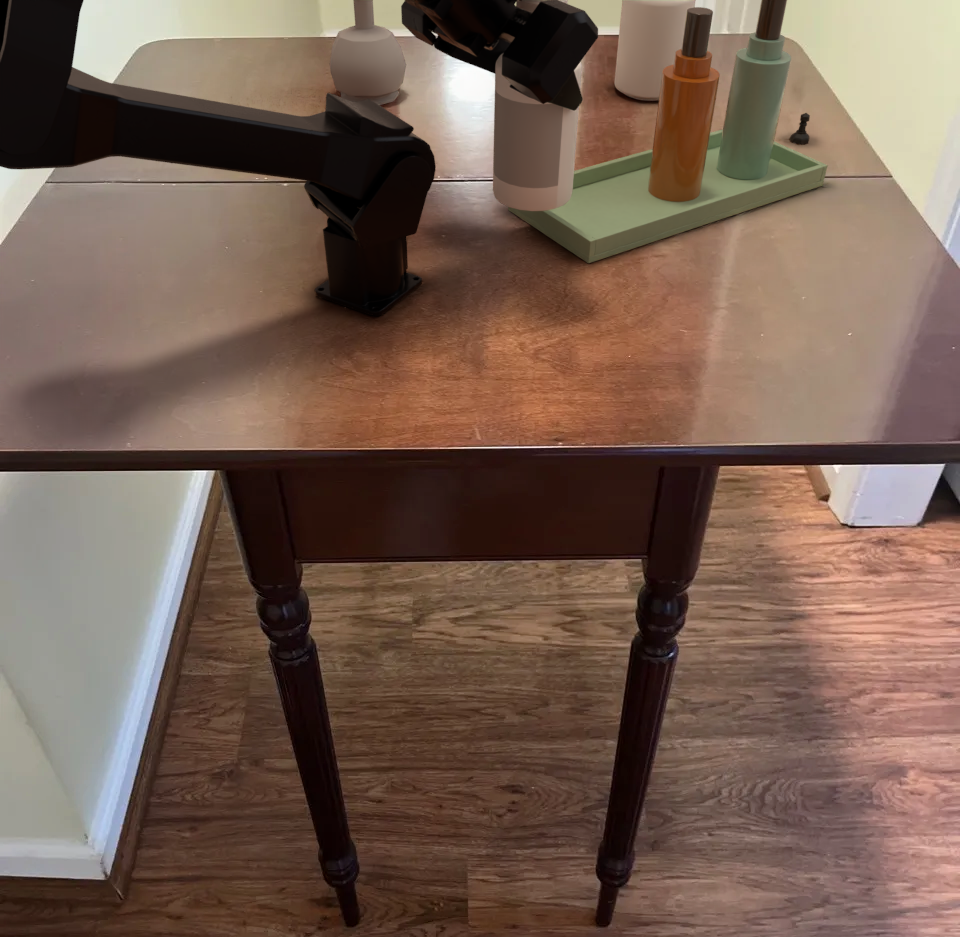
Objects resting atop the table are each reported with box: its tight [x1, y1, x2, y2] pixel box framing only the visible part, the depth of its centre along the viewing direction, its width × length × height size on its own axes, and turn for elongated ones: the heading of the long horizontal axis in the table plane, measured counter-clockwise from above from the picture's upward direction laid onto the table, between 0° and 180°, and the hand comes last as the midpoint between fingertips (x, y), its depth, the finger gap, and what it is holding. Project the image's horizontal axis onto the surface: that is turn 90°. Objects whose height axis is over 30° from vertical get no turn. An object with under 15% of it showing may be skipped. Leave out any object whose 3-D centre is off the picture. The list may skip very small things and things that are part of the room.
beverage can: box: [613, 0, 696, 102], centre depth 110 cm, size 8×8×12 cm
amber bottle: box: [648, 6, 721, 202], centre depth 87 cm, size 5×5×16 cm
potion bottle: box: [329, 0, 407, 106], centre depth 106 cm, size 9×9×18 cm
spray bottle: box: [492, 0, 583, 211], centre depth 77 cm, size 7×7×18 cm
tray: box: [507, 128, 829, 264], centre depth 91 cm, size 29×12×2 cm, turn 123°
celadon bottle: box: [717, 0, 792, 180], centre depth 90 cm, size 5×5×16 cm
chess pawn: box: [789, 112, 811, 145], centre depth 102 cm, size 2×2×3 cm
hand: (551, 91), depth 77 cm, fingers closed on spray bottle, 7 cm apart
